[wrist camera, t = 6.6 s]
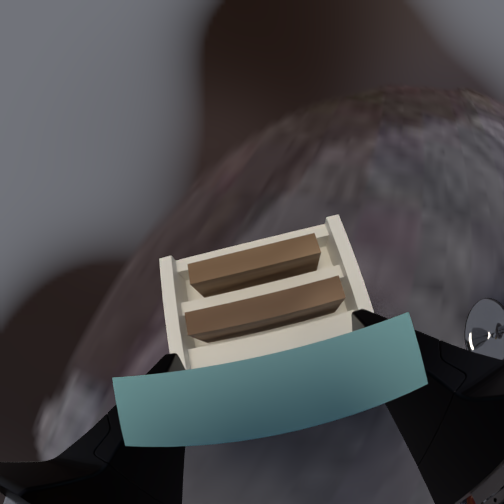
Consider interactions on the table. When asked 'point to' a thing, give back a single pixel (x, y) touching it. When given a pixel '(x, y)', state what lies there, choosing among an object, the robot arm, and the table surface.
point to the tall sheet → (272, 389)
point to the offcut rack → (270, 341)
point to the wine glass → (486, 328)
